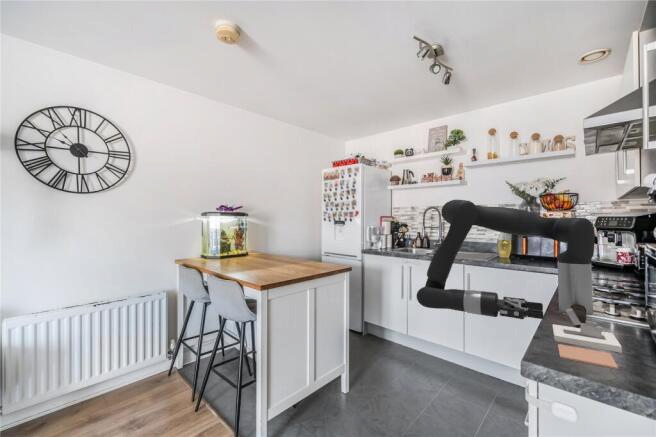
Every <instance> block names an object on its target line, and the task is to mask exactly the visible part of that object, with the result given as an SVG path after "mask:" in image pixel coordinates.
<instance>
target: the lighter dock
mask: <svg viewBox="0 0 656 437" xmlns="http://www.w3.org/2000/svg"><path fill="white" fill-rule="evenodd" d="M552 333H553V340H554V342H557V343H563V344H564V343H565V344H570V345H576V346H581V347H587V348H591V349H592V348H593V349H598V350H603V351H604V350H605V351H608V352H615V353H616V352H617V353H620V354H622V353H623V348H622V347H623V346H622V345H621V344H620V342H619V341H618V338H616V336H615V335H614V333H613V332H606V331H601V334H602V339H597V338H591V337H584V336H581V330H580V328H576V327H574V326H565V325H561V324H560V325H559V324H552Z"/></svg>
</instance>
